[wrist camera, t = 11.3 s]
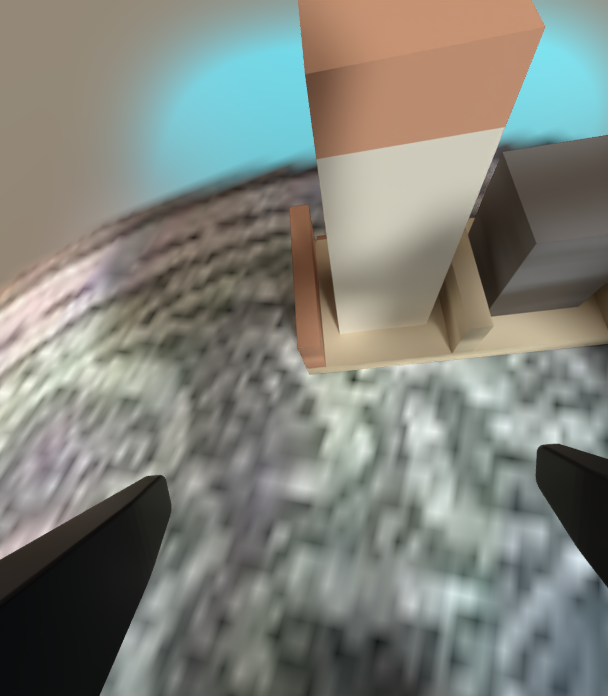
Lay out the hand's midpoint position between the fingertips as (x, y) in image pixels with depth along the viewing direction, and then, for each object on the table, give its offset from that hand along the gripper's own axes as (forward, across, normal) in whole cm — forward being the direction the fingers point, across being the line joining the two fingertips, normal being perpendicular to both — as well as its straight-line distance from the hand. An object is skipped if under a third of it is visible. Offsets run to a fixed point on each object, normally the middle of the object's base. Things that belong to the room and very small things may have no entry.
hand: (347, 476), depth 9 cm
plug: (+12, -3, -3) cm, 13 cm away
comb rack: (+13, -7, -3) cm, 15 cm away
